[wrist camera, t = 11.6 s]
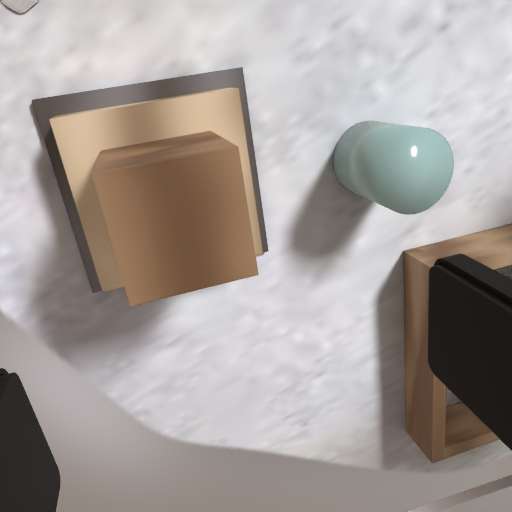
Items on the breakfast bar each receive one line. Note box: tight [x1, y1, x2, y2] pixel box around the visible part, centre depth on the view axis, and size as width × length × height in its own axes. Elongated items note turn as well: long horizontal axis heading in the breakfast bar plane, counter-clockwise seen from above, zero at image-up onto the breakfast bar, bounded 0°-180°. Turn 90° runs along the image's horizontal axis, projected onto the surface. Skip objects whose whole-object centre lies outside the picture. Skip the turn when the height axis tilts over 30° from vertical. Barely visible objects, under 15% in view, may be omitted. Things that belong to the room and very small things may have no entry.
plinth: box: [32, 67, 268, 293], centre depth 27 cm, size 12×12×3 cm
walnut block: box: [92, 131, 258, 307], centre depth 23 cm, size 6×6×7 cm
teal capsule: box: [333, 121, 454, 214], centre depth 29 cm, size 5×5×6 cm
